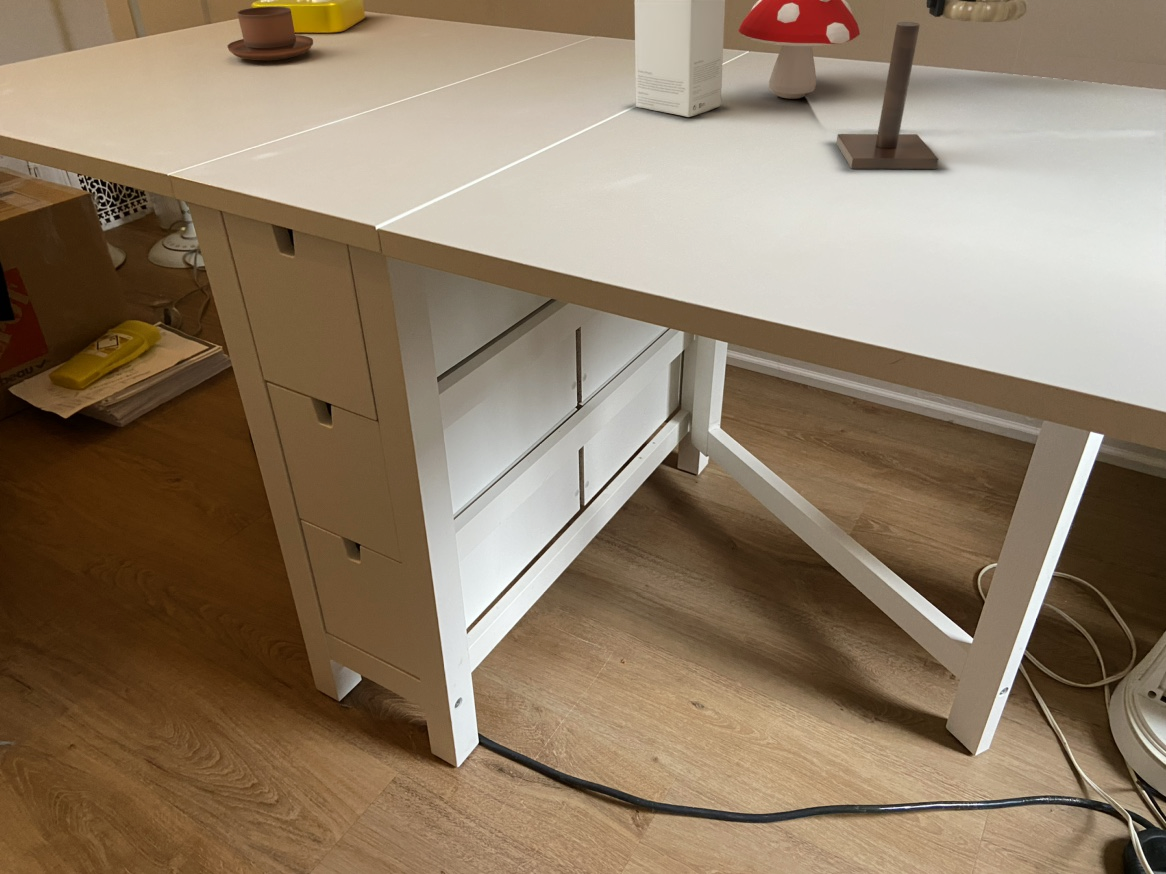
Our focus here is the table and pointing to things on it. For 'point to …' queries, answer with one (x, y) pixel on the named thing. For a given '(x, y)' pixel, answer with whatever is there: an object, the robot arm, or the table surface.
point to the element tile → (320, 14)
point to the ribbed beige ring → (985, 10)
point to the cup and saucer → (268, 35)
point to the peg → (891, 118)
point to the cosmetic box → (679, 55)
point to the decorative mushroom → (798, 37)
